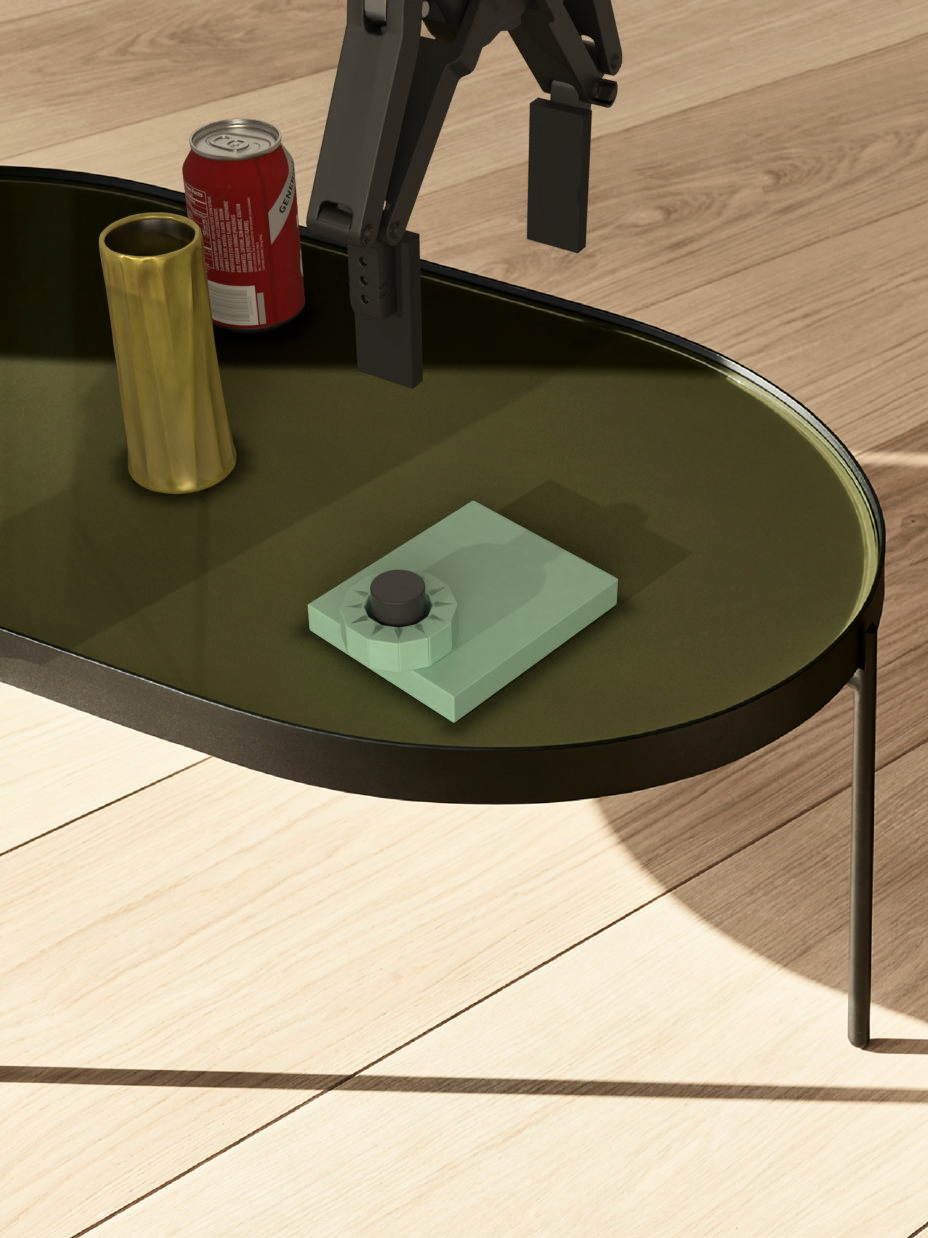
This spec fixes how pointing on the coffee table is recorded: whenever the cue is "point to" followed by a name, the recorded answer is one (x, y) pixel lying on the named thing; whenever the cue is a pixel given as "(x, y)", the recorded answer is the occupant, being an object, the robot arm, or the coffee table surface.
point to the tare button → (398, 598)
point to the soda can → (246, 223)
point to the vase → (166, 353)
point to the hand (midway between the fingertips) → (478, 306)
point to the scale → (468, 609)
